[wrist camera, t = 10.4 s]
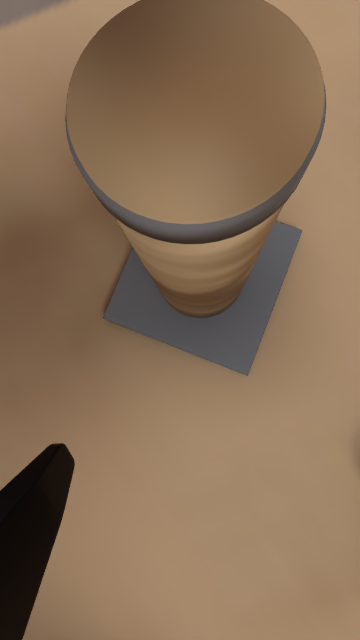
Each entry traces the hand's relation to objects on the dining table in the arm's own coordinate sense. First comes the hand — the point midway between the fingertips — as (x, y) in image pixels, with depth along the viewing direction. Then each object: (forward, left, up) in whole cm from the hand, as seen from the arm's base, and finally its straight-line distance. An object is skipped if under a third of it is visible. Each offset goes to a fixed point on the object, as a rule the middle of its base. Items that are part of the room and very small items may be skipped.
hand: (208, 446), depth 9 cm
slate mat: (+7, +3, -10) cm, 12 cm away
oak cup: (+7, +3, -9) cm, 12 cm away
